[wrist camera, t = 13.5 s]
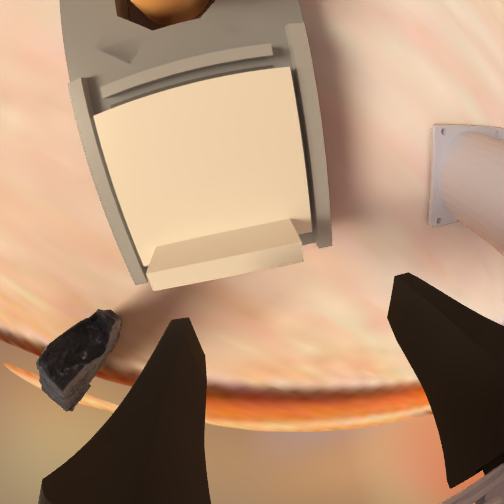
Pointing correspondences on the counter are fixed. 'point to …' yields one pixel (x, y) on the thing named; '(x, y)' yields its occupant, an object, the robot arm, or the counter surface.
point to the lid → (211, 176)
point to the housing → (187, 81)
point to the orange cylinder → (171, 10)
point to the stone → (77, 357)
